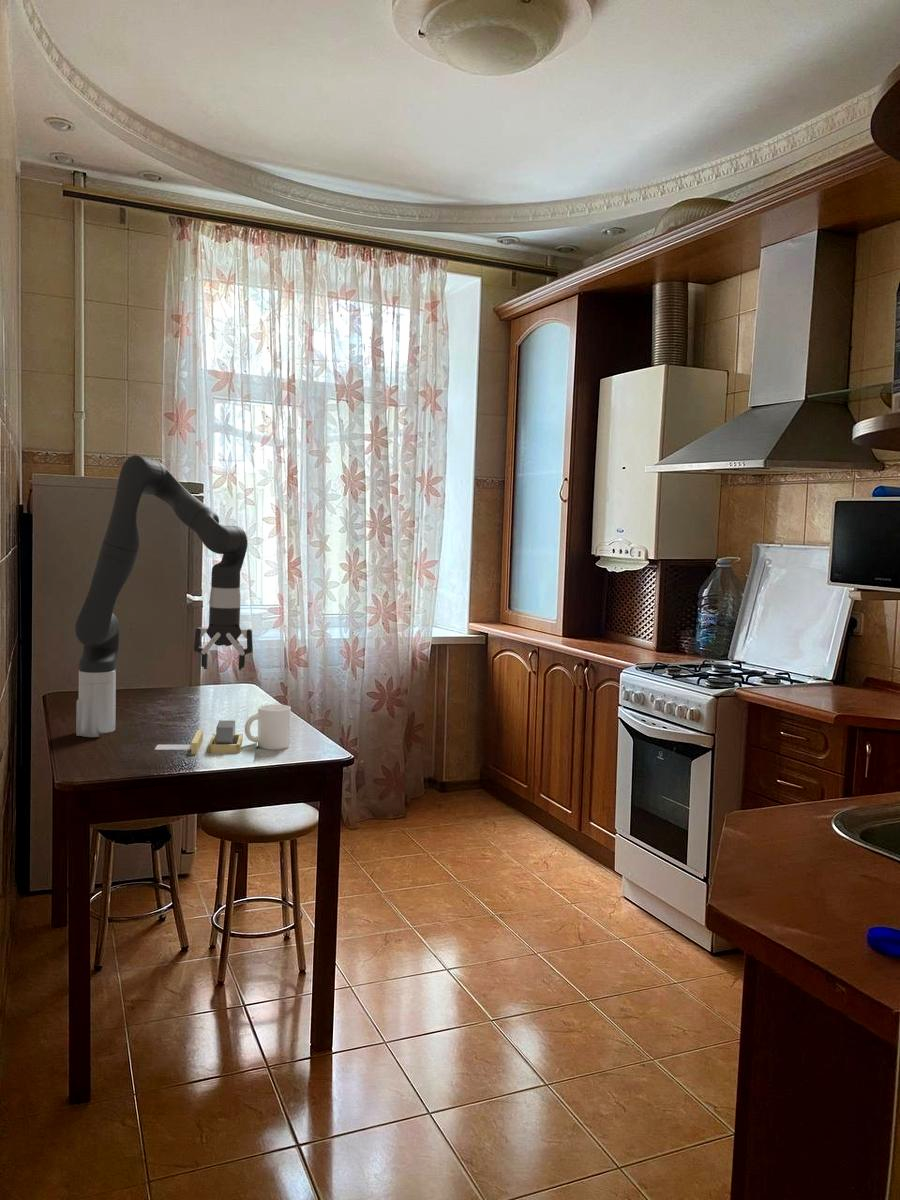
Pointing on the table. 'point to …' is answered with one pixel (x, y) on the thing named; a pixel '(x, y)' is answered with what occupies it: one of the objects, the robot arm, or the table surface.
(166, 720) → the table surface
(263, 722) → the mug
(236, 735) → the white fixture board
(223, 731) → the block
